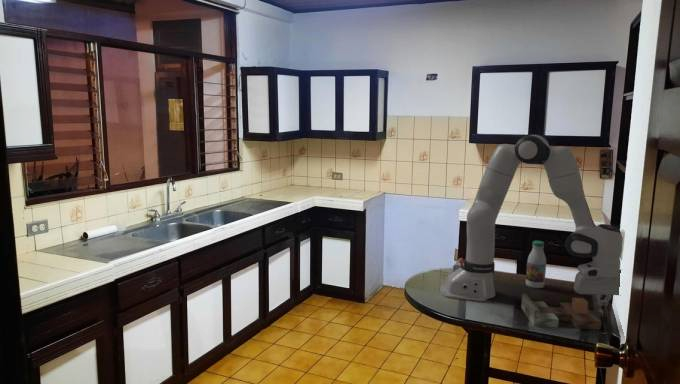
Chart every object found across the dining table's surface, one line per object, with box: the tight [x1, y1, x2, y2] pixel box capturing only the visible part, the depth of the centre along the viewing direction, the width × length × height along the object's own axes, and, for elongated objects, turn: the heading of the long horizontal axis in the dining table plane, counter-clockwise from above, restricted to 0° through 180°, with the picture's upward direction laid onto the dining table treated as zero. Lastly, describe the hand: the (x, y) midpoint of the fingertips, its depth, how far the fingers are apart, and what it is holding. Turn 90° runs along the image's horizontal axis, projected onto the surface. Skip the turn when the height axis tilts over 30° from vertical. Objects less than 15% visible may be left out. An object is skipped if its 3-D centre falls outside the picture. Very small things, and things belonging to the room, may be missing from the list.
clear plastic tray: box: [520, 293, 602, 330], centre depth 179 cm, size 23×16×6 cm
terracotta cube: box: [571, 297, 589, 314], centre depth 178 cm, size 4×4×4 cm
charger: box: [452, 259, 461, 272], centre depth 231 cm, size 5×9×15 cm
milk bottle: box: [525, 240, 547, 289], centre depth 211 cm, size 8×8×20 cm
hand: (602, 305), depth 178 cm, fingers closed
